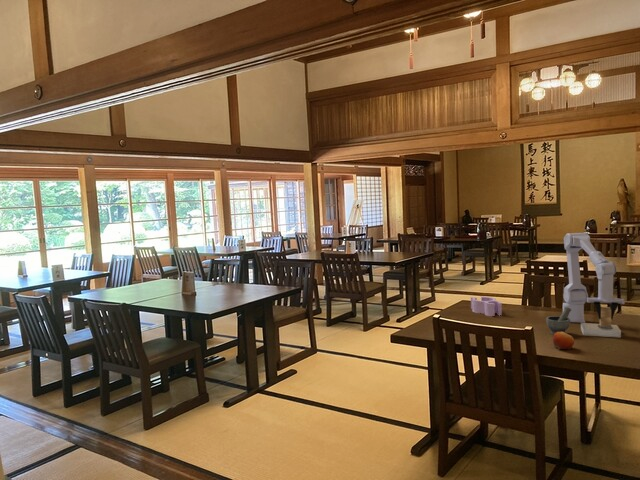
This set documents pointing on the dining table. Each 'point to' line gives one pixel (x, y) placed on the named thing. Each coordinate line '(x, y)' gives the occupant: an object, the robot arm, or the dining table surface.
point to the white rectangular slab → (600, 330)
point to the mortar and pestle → (559, 322)
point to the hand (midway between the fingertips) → (605, 318)
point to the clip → (486, 306)
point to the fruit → (563, 340)
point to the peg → (605, 317)
